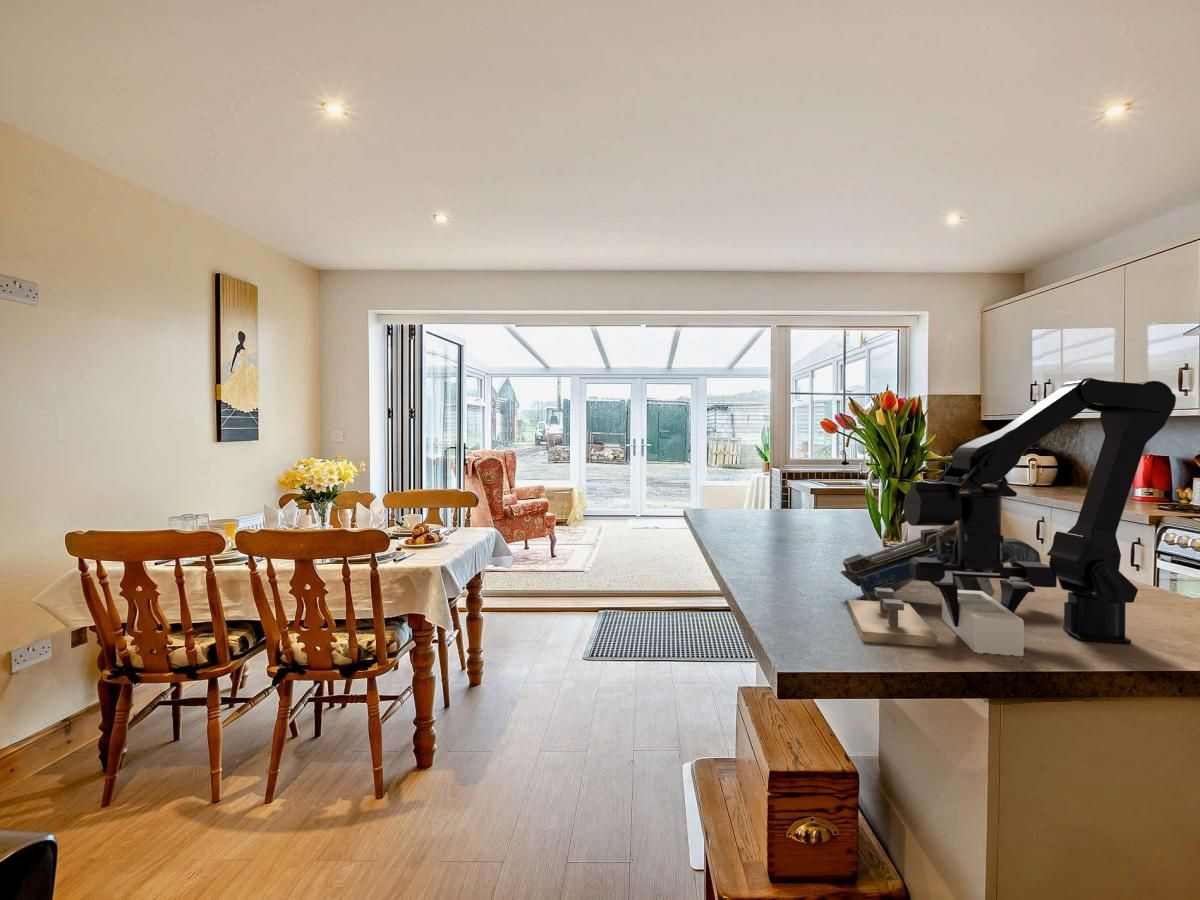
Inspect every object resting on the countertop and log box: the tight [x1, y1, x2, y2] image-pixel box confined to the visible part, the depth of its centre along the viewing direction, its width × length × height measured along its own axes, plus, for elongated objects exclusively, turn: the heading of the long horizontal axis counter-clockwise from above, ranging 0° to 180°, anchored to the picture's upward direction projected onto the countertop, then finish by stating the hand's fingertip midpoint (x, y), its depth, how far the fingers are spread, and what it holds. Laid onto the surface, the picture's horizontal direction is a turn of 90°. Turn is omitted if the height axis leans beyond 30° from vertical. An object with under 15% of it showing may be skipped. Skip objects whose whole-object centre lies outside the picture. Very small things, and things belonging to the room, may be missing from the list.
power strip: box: [941, 590, 1025, 657], centre depth 97 cm, size 18×6×5 cm, turn 165°
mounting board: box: [846, 588, 938, 648], centre depth 103 cm, size 10×20×5 cm, turn 165°
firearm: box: [840, 522, 1042, 601], centre depth 118 cm, size 8×33×15 cm, turn 78°
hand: (978, 627), depth 97 cm, fingers closed on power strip, 6 cm apart
